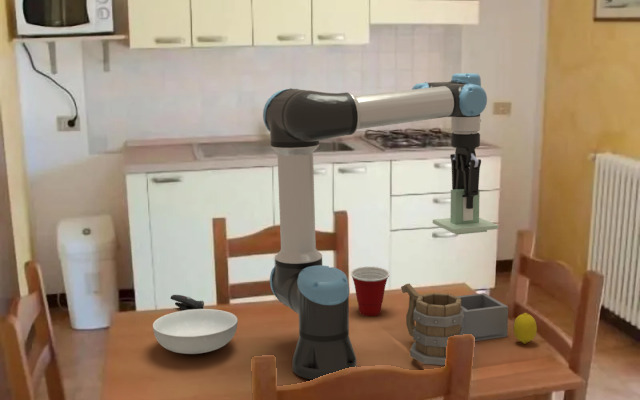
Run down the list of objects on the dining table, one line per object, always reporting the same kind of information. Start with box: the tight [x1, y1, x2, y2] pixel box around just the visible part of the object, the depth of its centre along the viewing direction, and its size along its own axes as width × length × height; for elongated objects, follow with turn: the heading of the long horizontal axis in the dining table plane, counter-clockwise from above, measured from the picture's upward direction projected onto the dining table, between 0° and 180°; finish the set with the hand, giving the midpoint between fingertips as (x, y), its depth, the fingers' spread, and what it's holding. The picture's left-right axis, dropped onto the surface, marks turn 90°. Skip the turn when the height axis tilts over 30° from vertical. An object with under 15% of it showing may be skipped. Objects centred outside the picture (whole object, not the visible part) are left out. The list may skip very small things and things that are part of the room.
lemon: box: [513, 312, 538, 345], centre depth 192 cm, size 6×6×8 cm
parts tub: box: [456, 292, 509, 342], centre depth 201 cm, size 12×12×8 cm
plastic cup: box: [350, 266, 390, 317], centre depth 216 cm, size 11×11×12 cm
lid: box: [432, 188, 499, 235], centre depth 210 cm, size 13×13×11 cm
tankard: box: [400, 283, 464, 367], centre depth 188 cm, size 20×13×15 cm, turn 30°
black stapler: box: [170, 294, 205, 311], centre depth 219 cm, size 18×7×6 cm, turn 32°
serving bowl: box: [152, 308, 239, 355], centre depth 193 cm, size 21×21×7 cm
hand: (464, 218), depth 210 cm, fingers closed on lid, 3 cm apart
